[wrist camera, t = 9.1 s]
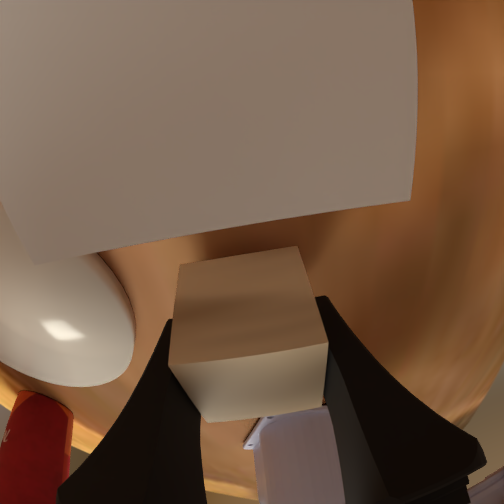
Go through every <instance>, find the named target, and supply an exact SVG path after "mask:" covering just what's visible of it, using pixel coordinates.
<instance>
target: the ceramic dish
mask: <svg viewBox="0 0 504 504" xmlns="http://www.w3.org/2000/svg"><path fill="white" fill-rule="evenodd" d="M135 338H136V322H135V316H134V312H133V309H132V306H131V304H130V301H129V299H128V297H127V295H126V293H125V291H124V289H123V287H122V285H121V284H120V282H119V281H118V279H117V278H116V276H115V275H114V273H113V272H112V270H111V269H110V268H109V267H108V266H107V264H106V263H105V262H104V261H103V259H102V258H101V257H100V256H99V255H98V254H97V253H91V254H86V255H82V256H77V257H72V258H67V259H62V260H58V261H53V262H48V263H44V264H39V265H34V263H33V262H32V260H31V258H30V256H29V255H28V253H27V251H26V249H25V248H24V246H23V244H22V242H21V240H20V239H19V237H18V235H17V233H16V231H15V229H14V227H13V225H12V223H11V221H10V219H9V217H8V215H7V213H6V211H5V209H4V207H3V205H2V203H1V201H0V361H1V362H3V363H4V364H6V365H8V366H10V367H11V368H13V369H15V370H17V371H19V372H21V373H23V374H26V375H28V376H31V377H33V378H36V379H39V380H42V381H45V382H49V383H53V384H58V385H64V386H72V387H89V386H96V385H101V384H104V383H108V382H110V381H112V380H114V379H116V378H117V377H119V376H120V375H121V374H122V373H123V372H124V371H125V370H126V369H127V367H128V365H129V363H130V361H131V358H132V354H133V349H134V343H135Z"/></svg>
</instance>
